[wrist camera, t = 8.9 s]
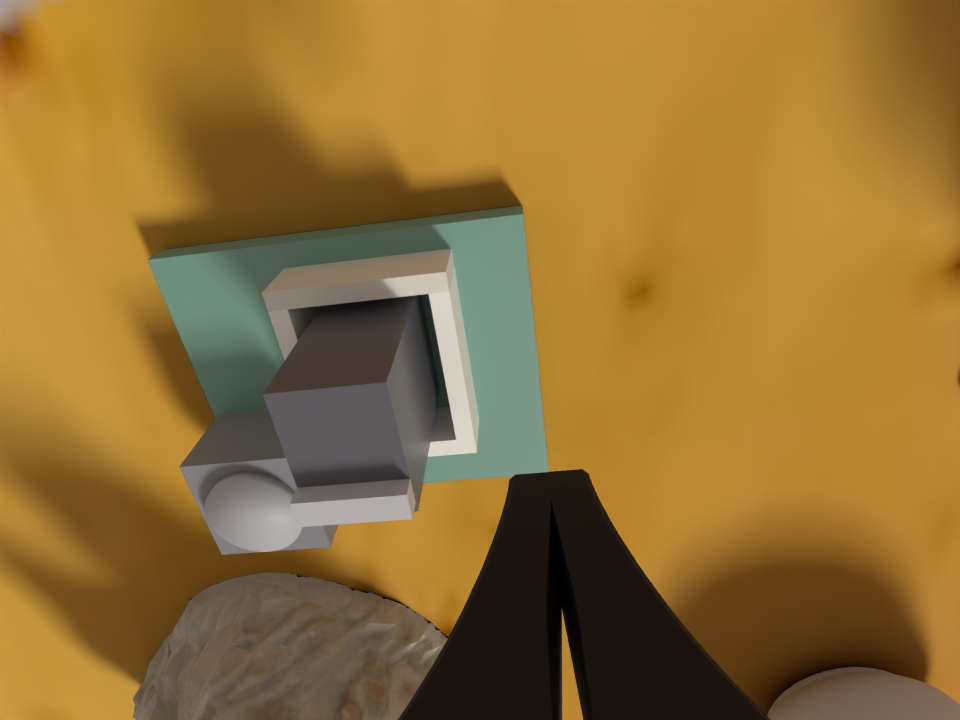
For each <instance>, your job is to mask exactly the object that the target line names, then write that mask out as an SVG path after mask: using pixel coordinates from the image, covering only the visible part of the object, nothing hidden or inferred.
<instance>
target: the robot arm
mask: <svg viewBox="0 0 960 720" xmlns="http://www.w3.org/2000/svg"><path fill="white" fill-rule="evenodd" d="M562 611H563V616H564V621H565V626H566V632H567V637H568V642H569V647H570V652H571V658H572V663H573V668H574V673H575V678H576V684H577V689H578V694H579V699H580V704H581V709H582V715H583V720H770V719H769V717H768V716H767V715H766V714H765V713H764V712H763V711H762V710H761V709H760V708H759V707H758V706H757V705H756V704H755V703H754V702H753V701H752V700H751V699H750V698H749V697H748V696H747V695H746V694H745V693H744V692H743V691H742V690H741V689H740V688H739V687H738V686H737V685H736V684H735V683H734V682H733V681H732V680H731V679H730V678H729V677H728V675H727V674H726V673H725V672H724V671H723V670H722V669H721V668H720V667H719V666H718V664H717V663H716V662H715V661H714V660H713V659H712V658H711V657H710V656H709V654H708V653H707V652H706V651H705V650H704V649H703V648H702V646H701V645H700V644H699V643H698V642H697V640H696V639H695V638H694V637H693V636H692V635H691V633H690V632H689V631H688V630H687V629H686V627H685V626H684V625H683V624H682V622H681V621H680V620H679V619H678V618H677V616H676V615H675V614H674V612H673V611H672V610H671V609H670V607H669V606H668V605H667V603H666V602H665V601H664V599H663V598H662V597H661V595H660V594H659V593H658V591H657V590H656V589H655V587H654V586H653V585H652V583H651V582H650V581H649V579H648V578H647V576H646V575H645V573H644V572H643V571H642V569H641V568H640V566H639V565H638V563H637V562H636V560H635V559H634V557H633V556H632V554H631V553H630V551H629V549H628V548H627V546H626V545H625V543H624V542H623V540H622V539H621V537H620V536H619V534H618V532H617V531H616V529H615V527H614V526H613V524H612V522H611V520H610V518H609V517H608V515H607V513H606V511H605V509H604V508H603V506H602V504H601V502H600V500H599V498H598V496H597V494H596V492H595V489H594V487H593V485H592V482H591V480H590V477H589V474H588V473H587V472H585V471H584V470H583V469H580V470H567V471H555V472H542V473H529V474H517V475H514V476H513V477H512V478H511V479H510V480H509V487H508V493H507V497H506V501H505V505H504V509H503V512H502V515H501V518H500V521H499V524H498V528H497V531H496V533H495V536H494V539H493V541H492V544H491V546H490V549H489V552H488V554H487V557H486V559H485V562H484V565H483V567H482V569H481V572H480V574H479V576H478V578H477V580H476V583H475V585H474V587H473V589H472V591H471V593H470V596H469V598H468V600H467V602H466V604H465V606H464V608H463V611H462V613H461V615H460V616H459V618H458V620H457V622H456V624H455V626H454V628H453V630H452V632H451V634H450V635H449V637H448V639H447V641H446V643H445V644H444V646H443V648H442V650H441V651H440V653H439V655H438V657H437V659H436V660H435V662H434V664H433V665H432V667H431V669H430V670H429V672H428V673H427V675H426V677H425V678H424V680H423V681H422V683H421V685H420V686H419V688H418V689H417V691H416V693H415V694H414V696H413V697H412V699H411V701H410V702H409V704H408V705H407V707H406V708H405V710H404V711H403V713H402V714H401V716H400V717H399V718H398V720H562Z"/></svg>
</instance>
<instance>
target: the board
mask: <svg viewBox="0 0 960 720" xmlns="http://www.w3.org/2000/svg"><path fill="white" fill-rule="evenodd" d="M148 262H149V265H150V267H151V269H152V272H153V274H154V276H155V279H156V281H157V283H158V286H159V288H160V290H161V293H162V295H163V297H164V300H165V302H166V305H167V307H168V309H169V312H170V314H171V316H172V319H173V321H174V323H175V326H176V328H177V330H178V333H179V335H180V337H181V340H182V342H183V344H184V347H185V349H186V352H187V354H188V356H189V359H190V361H191V363H192V366H193V368H194V370H195V373H196V375H197V377H198V380H199V382H200V384H201V387H202V389H203V392H204V394H205V396H206V399H207V401H208V403H209V406H210V408H211V410H212V413H213V415H214V417H215V420H214V421H213V422H212V424H211V425H210V426H209V428H208V429H207V430H206V432H205V433H204V434H203V436H202V437H201V439H200V440H199V441H198V443H197V444H196V445H195V447H194V448H193V449H192V451H191V452H190V453H189V455H188V456H187V457H186V459H185V460H184V461H183V463H182V464H181V465H180V467H179V468H180V470H181V472H182V474H183V476H184V478H185V480H186V482H187V484H188V486H189V488H190V490H191V492H192V494H193V496H194V498H195V501H196V503H197V505H198V507H199V509H200V511H201V513H202V515H203V517H204V519H205V521H206V523H207V525H208V527H209V529H210V532H211V534H212V536H213V538H214V540H215V542H216V544H217V546H218V548H219V550H220V552H221V554H222V555H226V554H241V553H255V552H270V551H284V550H298V549H312V548H327V547H331V544H332V541H333V538H334V535H335V532H336V529H337V526H338V524H337V525H324V526H310V527H298V524H297V522H296V519H295V517H294V514H293V511H292V509H291V506H290V502H291V500H292V498H293V496H294V493H295V491H296V489H297V486H296V484H295V481H294V478H293V476H292V473H291V470H290V467H289V465H288V462H287V459H286V457H285V454H284V451H283V448H282V446H281V443H280V440H279V438H278V435H277V432H276V430H275V427H274V424H273V421H272V419H271V416H270V413H269V411H268V408H267V405H266V402H265V400H264V397H263V393H264V391H265V390H266V388H267V387H268V385H269V384H270V382H271V381H272V379H273V378H274V376H275V375H276V373H277V372H278V370H279V369H280V367H281V366H282V364H283V363H284V361H285V360H286V358H287V357H288V355H289V353H290V352H291V350H292V349H293V347H294V346H295V344H296V343H297V341H298V340H299V338H300V337H301V335H302V334H303V332H304V331H305V329H306V328H307V326H308V325H309V323H310V322H311V320H312V319H313V317H314V316H315V314H316V313H317V311H318V310H319V308H320V307H321V306H324V305H333V304H342V303H351V302H360V301H369V300H378V299H387V298H396V297H405V296H414V295H421V297H422V302H423V307H424V312H425V317H426V322H427V327H428V332H429V337H430V342H431V347H432V353H433V358H434V363H435V368H436V373H437V378H438V383H439V388H440V391H439V397H438V403H437V408H436V414H435V419H434V425H433V430H432V436H431V441H430V447H429V452H428V458H427V464H426V469H425V475H424V480H423V483H430V482H443V481H456V480H468V479H481V478H493V477H506V476H514V475H517V474H529V473H542V472H549V470H548V460H547V450H546V440H545V429H544V419H543V409H542V399H541V389H540V379H539V369H538V359H537V349H536V339H535V329H534V318H533V308H532V298H531V288H530V278H529V268H528V258H527V248H526V238H525V228H524V218H523V208H522V205H521V206H513V207H505V208H496V209H488V210H480V211H472V212H464V213H456V214H448V215H440V216H432V217H424V218H416V219H408V220H399V221H391V222H383V223H375V224H367V225H359V226H351V227H343V228H335V229H327V230H319V231H311V232H302V233H294V234H286V235H278V236H270V237H262V238H254V239H246V240H238V241H230V242H222V243H213V244H205V245H197V246H189V247H181V248H173V249H165V250H162V251H161V252H159V253H157V254H156V255H154V256H153V257H151V258H150V259H148Z"/></svg>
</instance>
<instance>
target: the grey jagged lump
mask: <svg viewBox="0 0 960 720" xmlns="http://www.w3.org/2000/svg"><path fill="white" fill-rule="evenodd" d="M447 639H448V638H446V637H445V635H444V634H442V633H441V632H440V631H438V630H435V626H434V625H433V624H432V623H429V624H428V621H426V620H425V617H423V616H421V615H420V614H418V613H414V612H413V610H412V609H411V608H408V609H407V607H406V606H405V605H401V604H400V603H397V602H394V601H391V600H388V599H383V598H382V597H381V596H378V595H375V594H373V593H372V592H370V593H364V592H361V591H358V590H357V589H356V590H355V591H353V590H351V589H350V588H349V587H348V586H345V585H340V584H337V583H335V582H330V581H327V580H323V579H318V578H314V577H308V578H307V577H305V576H304V577H298V578H297V574H291V573H279V572H265V573H264V572H263V573H258V574H252V575H247V576H242V577H238V578H233V579H230V580H226V581H223V582H221V583H220V584H215V585H213V586H210V587H208V588H206V589H205V590H203V591H201V592H199V593H197V594H196V595H195V596H194V597H193V598H192V599H191V600H189V602H188V604H187V606H186V608H185V610H184V612H183V613H182V615H181V616H180V618H179V620H178V622H177V624H175V628H174V630H173V631H172V633H171V634H170V635H168V637H167V638H166V639H165V641H164V642H163V643H162V645H161V646H160V648H159V649H158V651H157V652H156V654H155V655H154V657H153V658H152V660H151V661H150V663H149V665H148V668H147V672H146V675H145V679H144V682H143V684H142V685H141V687H140V688H139V690H138V691H137V693H136V694H135V696H134V698H133V700H134V703H135V708H134V710H135V711H134V714H133V717H134V718H135V719H136V720H398V718H399V717H400V716H401V714H402V713H403V711H404V710H405V708H406V707H407V705H408V704H409V702H410V701H411V699H412V697H413V696H414V694H415V693H416V691H417V689H418V688H419V686H420V685H421V683H422V681H423V680H424V678H425V677H426V675H427V673H428V672H429V670H430V669H431V667H432V665H433V664H434V662H435V660H436V659H437V657H438V655H439V653H440V651H441V650H442V648H443V646H444V644H445V643H446V641H447Z"/></svg>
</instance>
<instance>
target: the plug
mask: <svg viewBox="0 0 960 720" xmlns="http://www.w3.org/2000/svg"><path fill="white" fill-rule="evenodd" d="M439 391H440V388H439V383H438V378H437V373H436V368H435V363H434V358H433V353H432V347H431V342H430V337H429V332H428V327H427V322H426V317H425V312H424V307H423V302H422V297H421V295H414V296H405V297H396V298H387V299H378V300H369V301H360V302H351V303H342V304H333V305H324V306H321V307H320V308H319V310H318V311H317V313H316V314H315V316H314V317H313V319H312V320H311V322H310V323H309V325H308V326H307V328H306V329H305V331H304V332H303V334H302V335H301V337H300V338H299V340H298V341H297V343H296V344H295V346H294V347H293V349H292V350H291V352H290V353H289V355H288V357H287V358H286V360H285V361H284V363H283V364H282V366H281V367H280V369H279V370H278V372H277V373H276V375H275V376H274V378H273V379H272V381H271V382H270V384H269V385H268V387H267V388H266V390H265V391H264V393H263V397H264V400H265V402H266V405H267V408H268V411H269V413H270V416H271V419H272V421H273V424H274V427H275V430H276V432H277V435H278V438H279V440H280V443H281V446H282V448H283V451H284V454H285V457H286V459H287V462H288V465H289V467H290V470H291V473H292V476H293V478H294V481H295V484H296V486H297V489H296V491H295V493H294V496H293V498H292V500H291V502H290V506H291V509H292V511H293V514H294V517H295V519H296V522H297V524H298V527H310V526H324V525H337V524H351V523H365V522H378V521H392V520H405V519H413V515H414V511H418V508H419V502H420V497H421V491H422V486H423V480H424V475H425V469H426V464H427V458H428V452H429V447H430V441H431V436H432V430H433V425H434V419H435V414H436V408H437V403H438V397H439Z"/></svg>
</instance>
